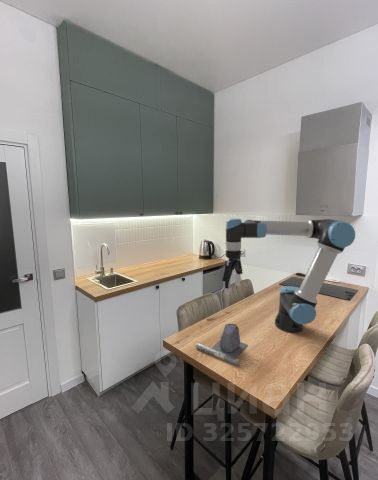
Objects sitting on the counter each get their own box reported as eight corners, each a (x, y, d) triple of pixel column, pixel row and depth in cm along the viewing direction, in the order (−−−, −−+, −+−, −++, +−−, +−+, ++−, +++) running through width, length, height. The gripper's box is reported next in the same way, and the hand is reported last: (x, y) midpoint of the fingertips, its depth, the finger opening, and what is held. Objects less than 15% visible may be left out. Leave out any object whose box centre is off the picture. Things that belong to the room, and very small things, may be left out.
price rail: (238, 363, 110) (238, 359, 110) (236, 366, 109) (237, 362, 108) (197, 346, 123) (197, 342, 122) (195, 348, 121) (195, 344, 121)
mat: (247, 345, 124) (247, 344, 124) (234, 360, 112) (234, 360, 112) (224, 336, 132) (224, 335, 132) (209, 350, 120) (209, 349, 120)
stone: (226, 342, 129) (244, 342, 123) (219, 355, 121) (238, 357, 115) (219, 322, 127) (236, 322, 121) (211, 334, 119) (229, 335, 113)
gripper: (235, 244, 137) (235, 281, 141) (215, 253, 116) (215, 296, 120) (249, 245, 133) (248, 283, 137) (230, 255, 112) (229, 299, 116)
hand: (232, 289), depth 128 cm, fingers open, 13 cm apart
